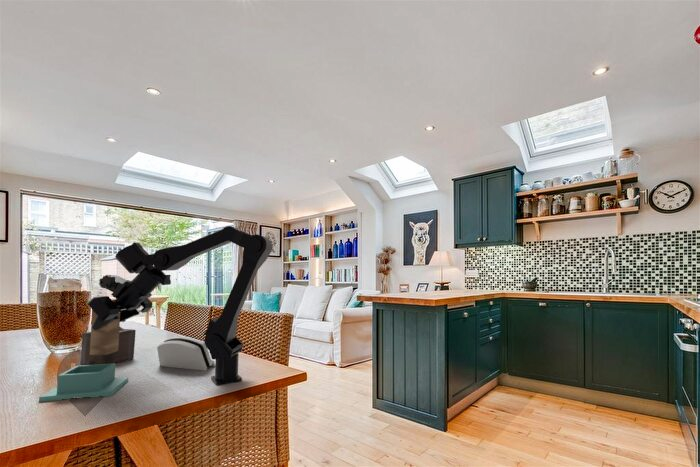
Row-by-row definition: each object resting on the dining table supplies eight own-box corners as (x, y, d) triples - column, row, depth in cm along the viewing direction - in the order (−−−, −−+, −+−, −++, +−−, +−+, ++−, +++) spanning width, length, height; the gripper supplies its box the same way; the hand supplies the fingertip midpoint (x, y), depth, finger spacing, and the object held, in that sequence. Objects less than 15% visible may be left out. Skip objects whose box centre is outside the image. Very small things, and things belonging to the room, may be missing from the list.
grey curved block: (216, 366, 107) (209, 335, 104) (205, 376, 102) (198, 344, 100) (172, 361, 112) (165, 332, 110) (160, 370, 108) (152, 340, 105)
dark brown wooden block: (76, 365, 108) (80, 304, 110) (110, 356, 119) (113, 301, 121) (116, 368, 104) (120, 306, 106) (147, 359, 115) (150, 302, 116)
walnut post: (118, 350, 98) (120, 302, 99) (106, 354, 93) (109, 304, 94) (102, 350, 98) (104, 302, 99) (89, 354, 93) (92, 304, 94)
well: (127, 381, 92) (129, 361, 93) (111, 395, 82) (112, 373, 82) (64, 385, 89) (66, 365, 89) (38, 401, 78) (40, 378, 79)
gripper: (144, 264, 107) (106, 302, 106) (97, 264, 88) (51, 310, 88) (168, 291, 106) (130, 329, 105) (127, 296, 87) (80, 342, 86)
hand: (100, 327), depth 96 cm, fingers closed on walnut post, 4 cm apart
